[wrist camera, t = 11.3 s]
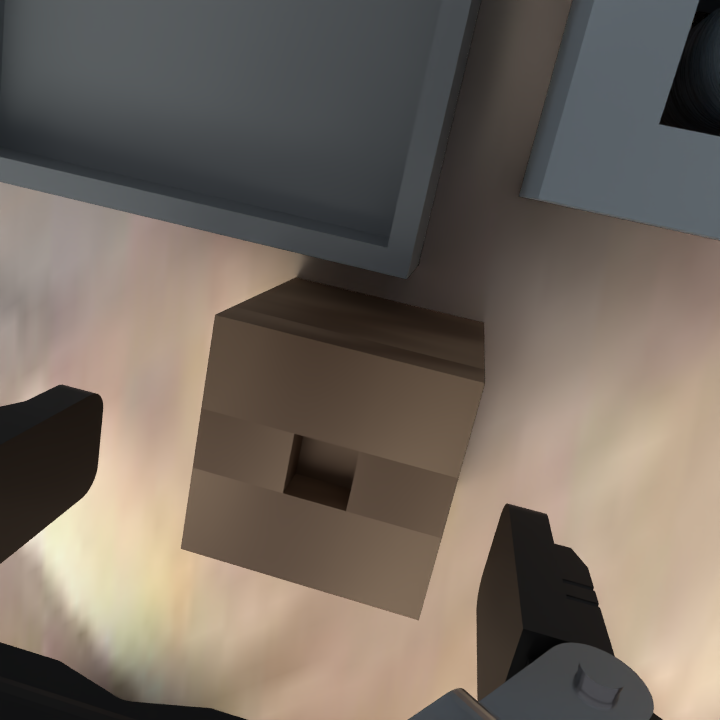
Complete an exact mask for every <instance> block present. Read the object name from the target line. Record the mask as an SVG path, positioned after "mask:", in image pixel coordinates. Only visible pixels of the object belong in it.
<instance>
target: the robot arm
mask: <svg viewBox="0 0 720 720" xmlns="http://www.w3.org/2000/svg"><path fill="white" fill-rule="evenodd" d="M102 415H103V401H102V398H101V396H100V395H98V394H96V393H92V392H88V391H84V390H81V389H77V388H73V387H69V386H66V385H58V386H56V387H54V388H52V389H50V390H48V391H46V392H44V393H41V394H39V395H37V396H35V397H33V398H31V399H29V400H27V401H24V402H20V403H15V404H10V405H6V406H1V407H0V564H1V563H2V562H3V561H4V560H6V559H7V558H8V557H9V556H11V555H12V554H13V553H14V552H16V551H17V550H18V549H19V548H21V547H22V546H23V545H24V544H26V543H27V542H28V541H29V540H30V539H32V538H33V537H34V536H35V535H37V534H38V533H39V532H40V531H42V530H43V529H44V528H45V527H47V526H48V525H49V524H50V523H52V522H53V521H54V520H55V519H57V518H58V517H59V516H60V515H62V514H63V513H64V512H65V511H67V510H68V509H69V508H70V507H71V506H73V505H74V504H75V503H76V502H78V501H79V500H80V499H81V498H83V497H84V496H85V494H86V493H87V492H88V490H89V489H90V487H91V485H92V483H93V481H94V479H95V476H96V472H97V467H98V458H99V447H100V437H101V426H102ZM593 588H594V586H593V583H592V580H591V577H590V573H589V570H588V568H587V566H586V565H585V564H584V563H583V562H582V560H581V559H580V558H579V557H578V556H577V555H576V553H575V552H574V551H573V550H572V549H571V548H569V547H565V546H561V545H557V544H554V541H553V537H552V532H551V528H550V524H549V519H548V516H547V514H545V513H541V512H537V511H533V510H530V509H526V508H522V507H518V506H515V505H511V504H506V505H505V506H504V508H503V511H502V513H501V516H500V519H499V523H498V526H497V529H496V532H495V536H494V539H493V542H492V546H491V549H490V552H489V555H488V559H487V562H486V565H485V568H484V572H483V575H482V579H481V583H480V587H479V593H478V599H477V694H478V701H477V700H476V699H474V698H473V697H472V696H471V695H470V694H469V693H468V692H466V691H465V690H464V689H462V688H458V689H454V690H452V691H450V692H448V693H447V694H445V695H444V696H442V697H441V698H439V699H438V700H436V701H435V702H433V703H432V704H430V705H429V706H427V707H426V708H424V709H423V710H421V711H420V712H419V713H417V714H416V715H414V716H413V717H411V718H410V719H408V720H663V719H661V718H660V717H658V716H657V715H655V714H654V713H653V710H654V705H653V699H652V696H651V694H650V692H649V690H648V688H647V686H646V685H645V683H644V682H643V681H642V679H641V678H640V677H639V676H638V675H637V674H636V673H635V672H634V671H633V670H632V669H631V668H630V667H628V666H627V665H626V664H625V663H623V662H622V661H621V660H619V659H617V658H616V657H615V656H614V652H613V649H612V646H611V642H610V639H609V636H608V633H607V629H606V626H605V623H604V619H603V616H602V613H601V610H600V608H599V607H598V604H599V603H598V600H597V596H596V593H595V591H593ZM0 720H247V719H243V718H240V717H237V716H234V715H231V714H227V713H224V712H221V711H218V710H215V709H212V708H201V707H189V706H177V705H165V704H153V703H141V702H131V701H125V700H122V699H120V698H118V697H116V696H114V695H113V694H111V693H110V692H108V691H106V690H105V689H103V688H102V687H100V686H98V685H97V684H95V683H94V682H92V681H90V680H89V679H87V678H86V677H84V676H83V675H81V674H79V673H78V672H76V671H75V670H73V669H71V668H70V667H68V666H67V665H65V664H64V663H62V662H60V661H58V660H55V659H52V658H49V657H45V656H42V655H39V654H36V653H33V652H29V651H26V650H23V649H20V648H17V647H13V646H10V645H7V644H4V643H1V642H0Z"/></svg>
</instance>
